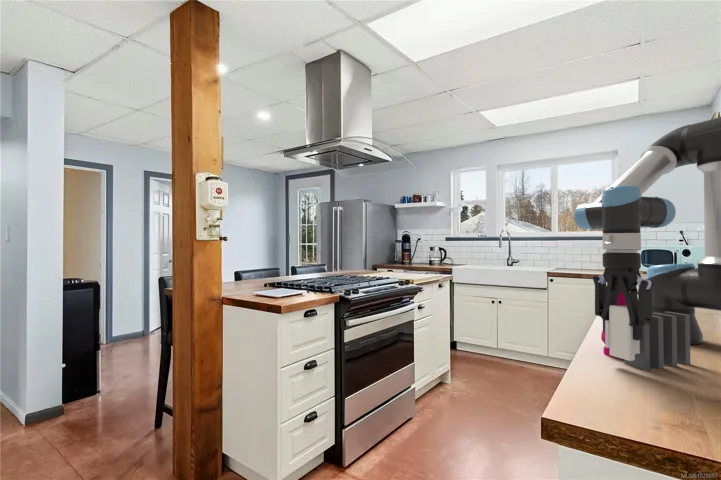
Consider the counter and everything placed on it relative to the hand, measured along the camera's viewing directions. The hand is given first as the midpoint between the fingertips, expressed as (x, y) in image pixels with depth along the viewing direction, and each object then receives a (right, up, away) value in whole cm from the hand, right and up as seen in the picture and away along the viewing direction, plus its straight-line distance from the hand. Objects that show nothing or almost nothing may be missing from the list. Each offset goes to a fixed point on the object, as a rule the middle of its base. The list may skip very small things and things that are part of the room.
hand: (621, 350), depth 91 cm
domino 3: (+13, -4, +4) cm, 14 cm away
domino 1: (+5, -4, +1) cm, 6 cm away
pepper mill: (+6, -5, +11) cm, 13 cm away
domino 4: (+17, -4, +5) cm, 19 cm away
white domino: (0, -2, 0) cm, 2 cm away
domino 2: (+9, -4, +3) cm, 10 cm away
